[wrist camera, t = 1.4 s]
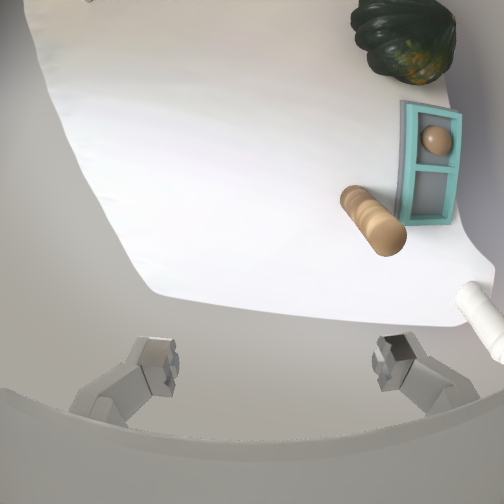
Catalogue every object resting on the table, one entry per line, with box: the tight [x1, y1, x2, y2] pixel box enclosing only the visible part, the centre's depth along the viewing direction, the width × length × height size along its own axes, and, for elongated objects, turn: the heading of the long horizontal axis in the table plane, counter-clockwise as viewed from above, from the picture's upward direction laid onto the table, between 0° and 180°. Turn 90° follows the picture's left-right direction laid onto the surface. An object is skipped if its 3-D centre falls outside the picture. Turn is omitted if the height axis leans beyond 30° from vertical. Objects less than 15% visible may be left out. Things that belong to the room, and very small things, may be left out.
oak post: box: [340, 185, 407, 257], centre depth 36 cm, size 4×4×14 cm
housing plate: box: [394, 100, 462, 226], centre depth 37 cm, size 20×11×4 cm, turn 4°
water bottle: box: [455, 282, 504, 365], centre depth 40 cm, size 7×7×25 cm
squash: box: [350, 0, 456, 85], centre depth 24 cm, size 14×15×15 cm
